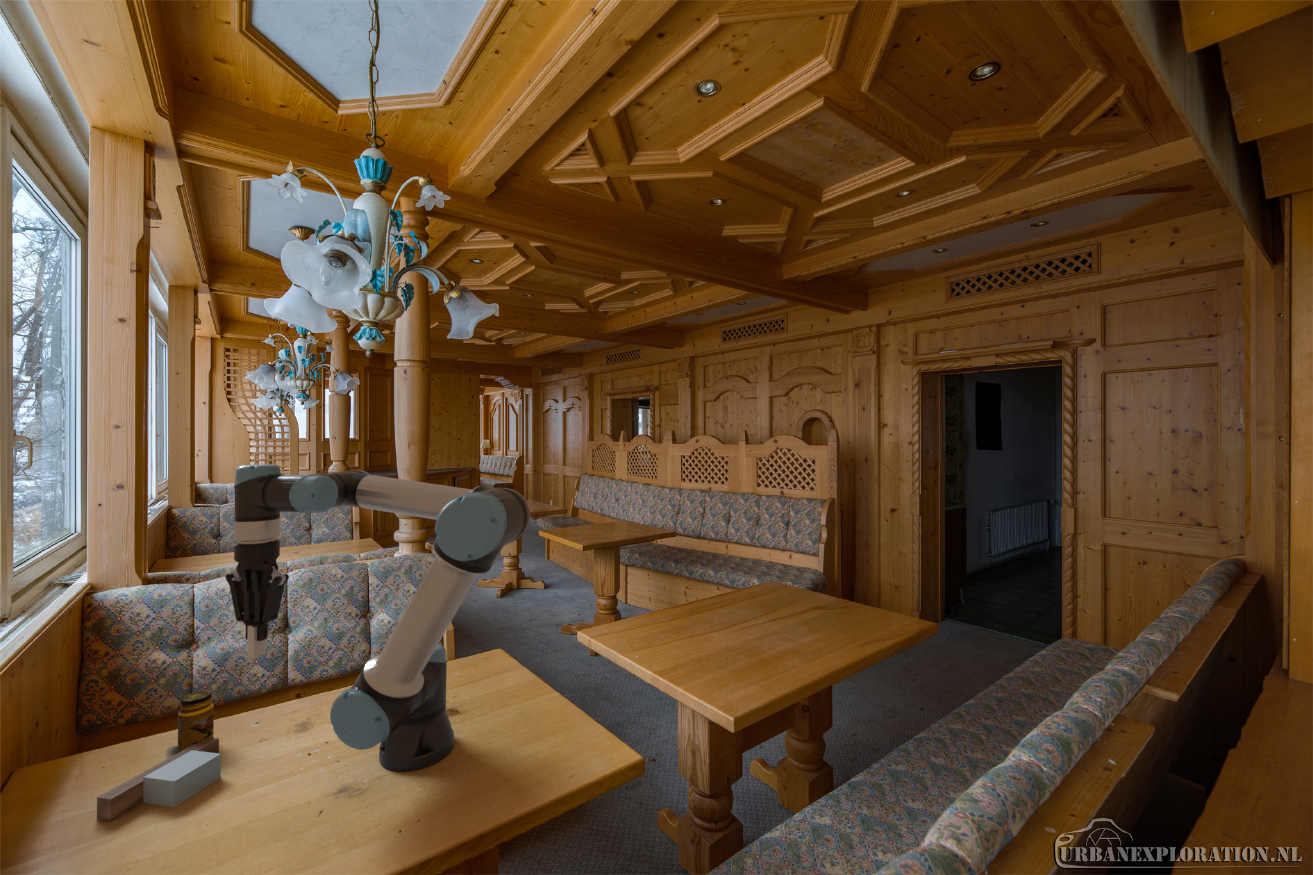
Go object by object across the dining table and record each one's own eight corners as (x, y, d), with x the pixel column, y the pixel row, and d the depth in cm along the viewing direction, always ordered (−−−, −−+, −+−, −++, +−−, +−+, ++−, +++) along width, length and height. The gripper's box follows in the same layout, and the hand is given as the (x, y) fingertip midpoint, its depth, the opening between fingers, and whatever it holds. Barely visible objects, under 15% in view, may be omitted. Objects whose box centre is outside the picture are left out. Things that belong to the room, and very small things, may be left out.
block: (220, 778, 110) (220, 753, 110) (173, 808, 101) (174, 781, 101) (191, 774, 111) (191, 750, 111) (143, 803, 102) (143, 777, 102)
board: (218, 757, 116) (219, 738, 116) (110, 821, 97) (110, 799, 97) (207, 755, 117) (207, 737, 117) (96, 819, 97) (96, 797, 97)
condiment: (213, 752, 118) (213, 697, 118) (161, 765, 113) (161, 708, 114) (217, 737, 124) (217, 685, 124) (168, 748, 120) (169, 694, 120)
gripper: (300, 538, 113) (299, 651, 113) (247, 535, 115) (246, 646, 115) (268, 544, 105) (267, 665, 105) (212, 542, 108) (211, 660, 108)
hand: (256, 655), depth 110 cm, fingers closed
